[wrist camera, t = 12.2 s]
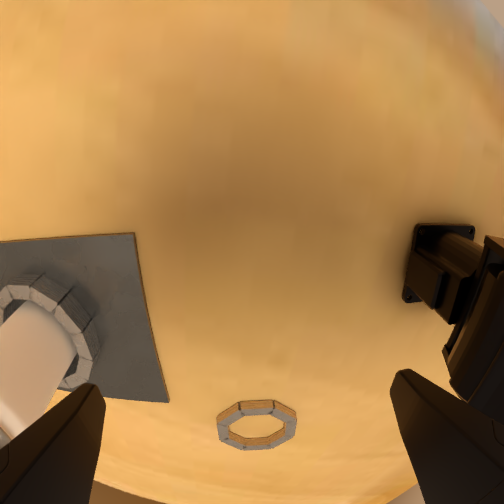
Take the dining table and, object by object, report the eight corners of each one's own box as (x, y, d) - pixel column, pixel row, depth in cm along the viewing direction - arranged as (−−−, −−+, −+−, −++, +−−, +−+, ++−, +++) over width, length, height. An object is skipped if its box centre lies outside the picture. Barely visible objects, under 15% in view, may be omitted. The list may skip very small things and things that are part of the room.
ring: (297, 397, 26) (299, 405, 25) (291, 439, 28) (292, 446, 27) (214, 401, 25) (214, 409, 24) (221, 443, 28) (221, 450, 27)
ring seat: (134, 232, 19) (122, 244, 17) (169, 399, 25) (166, 418, 23) (-29, 244, 18) (-45, 253, 16) (23, 379, 24) (14, 392, 22)
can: (50, 362, 23) (-2, 456, 11) (11, 308, 20) (-62, 392, 9) (94, 348, 22) (39, 462, 11) (51, 285, 20) (-38, 385, 9)
